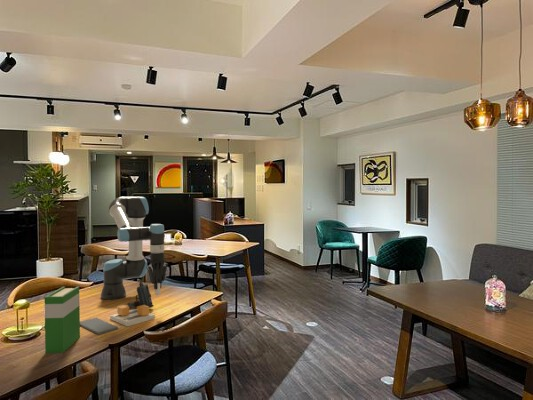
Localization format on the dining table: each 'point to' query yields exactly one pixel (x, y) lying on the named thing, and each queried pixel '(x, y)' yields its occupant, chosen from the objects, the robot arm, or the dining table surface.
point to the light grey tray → (131, 318)
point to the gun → (142, 297)
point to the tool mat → (97, 325)
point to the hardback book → (62, 319)
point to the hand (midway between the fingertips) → (157, 294)
